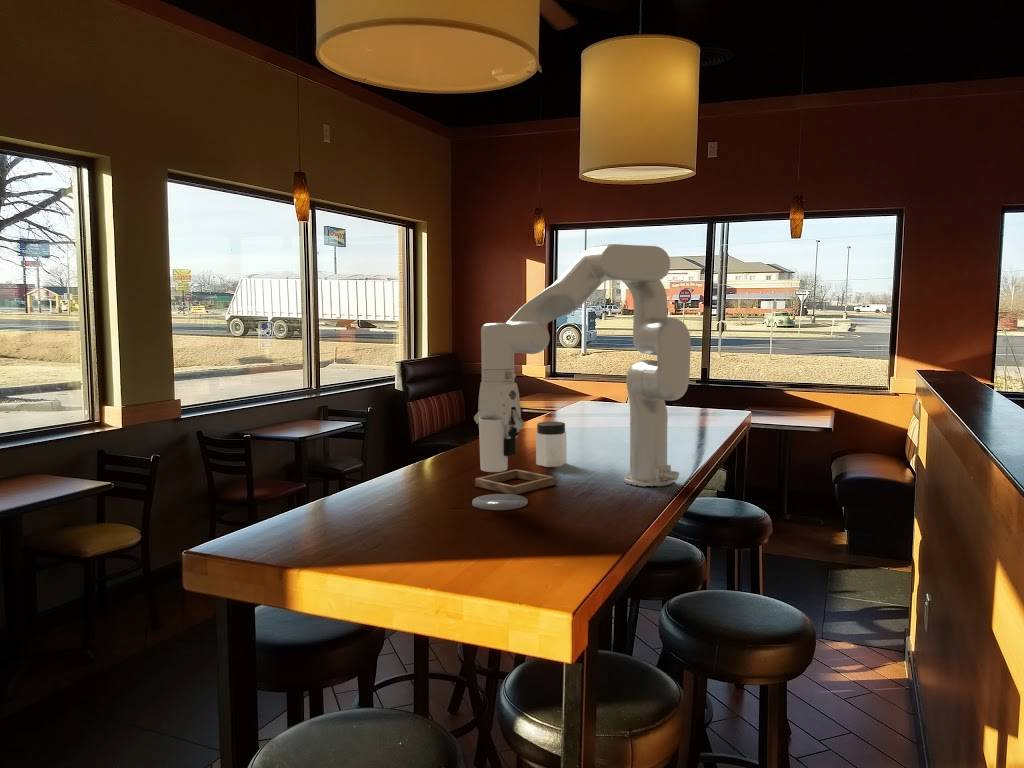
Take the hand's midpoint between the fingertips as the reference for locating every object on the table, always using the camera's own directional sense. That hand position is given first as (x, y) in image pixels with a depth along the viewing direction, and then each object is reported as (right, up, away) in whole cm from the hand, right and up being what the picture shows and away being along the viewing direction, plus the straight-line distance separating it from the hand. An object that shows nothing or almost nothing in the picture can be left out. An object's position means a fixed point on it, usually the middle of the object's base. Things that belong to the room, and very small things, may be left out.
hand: (498, 452), depth 178 cm
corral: (+4, -10, +19) cm, 22 cm away
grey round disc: (0, -12, +1) cm, 12 cm away
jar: (+15, -8, +45) cm, 48 cm away
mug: (0, -4, +1) cm, 4 cm away
